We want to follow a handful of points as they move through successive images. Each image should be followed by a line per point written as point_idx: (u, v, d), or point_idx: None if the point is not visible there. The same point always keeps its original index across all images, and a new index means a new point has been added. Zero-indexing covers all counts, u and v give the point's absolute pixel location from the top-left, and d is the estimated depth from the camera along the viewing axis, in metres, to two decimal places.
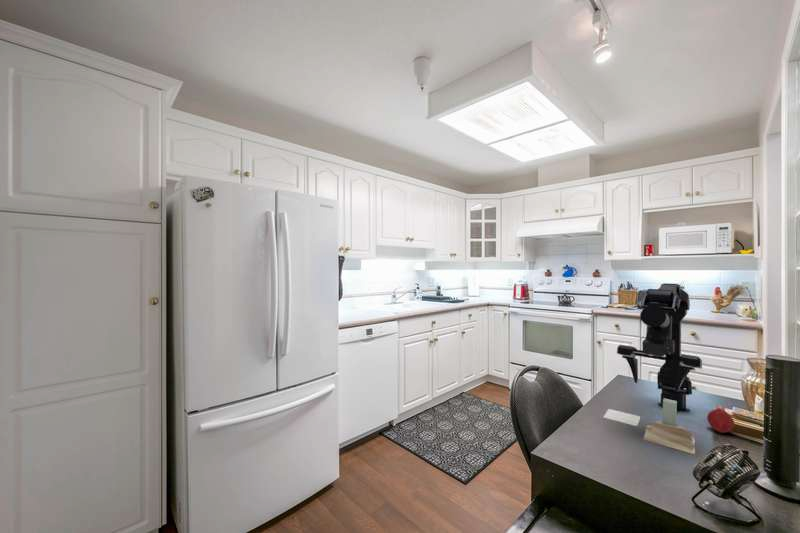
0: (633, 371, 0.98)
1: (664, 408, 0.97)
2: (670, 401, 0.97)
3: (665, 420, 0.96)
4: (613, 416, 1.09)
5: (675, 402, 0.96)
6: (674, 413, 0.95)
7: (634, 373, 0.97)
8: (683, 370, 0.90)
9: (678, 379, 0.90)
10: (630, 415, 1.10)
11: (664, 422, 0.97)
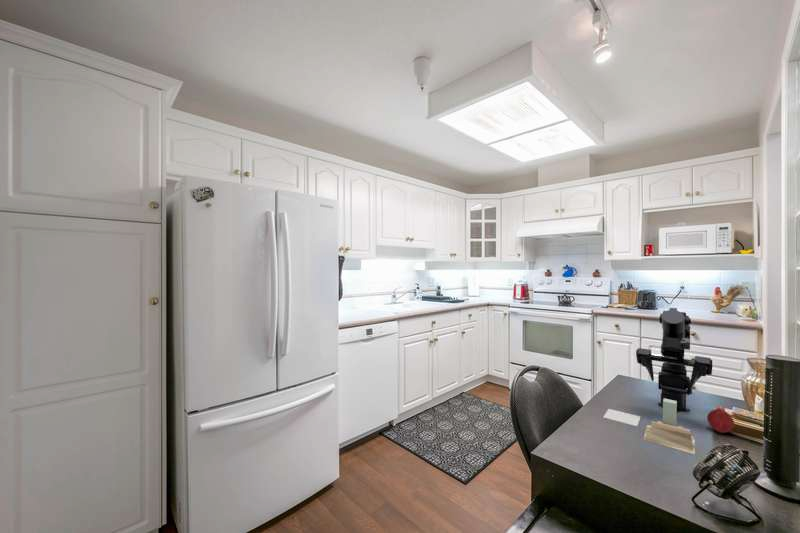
0: (650, 370, 1.07)
1: (664, 408, 0.97)
2: (670, 401, 0.97)
3: (665, 420, 0.96)
4: (613, 416, 1.09)
5: (675, 402, 0.96)
6: (674, 413, 0.95)
7: (651, 371, 1.07)
8: (697, 368, 1.01)
9: (692, 376, 1.01)
10: (630, 415, 1.10)
11: (664, 422, 0.97)
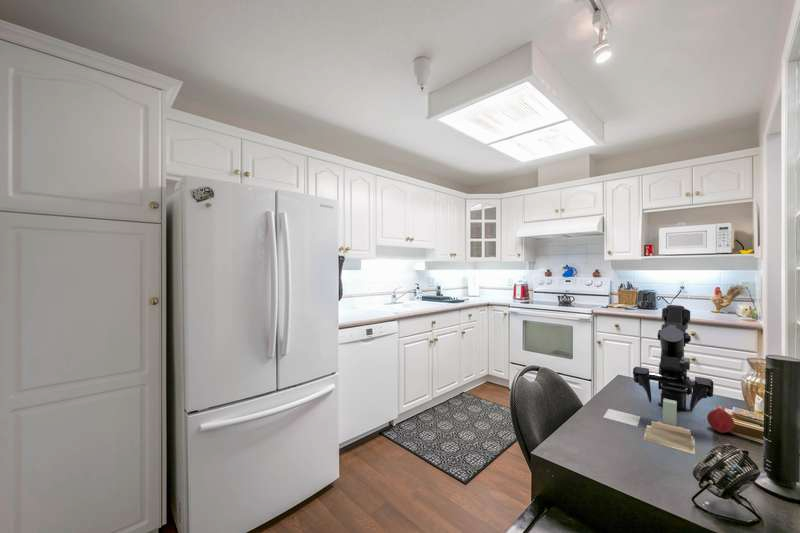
0: (648, 390, 1.02)
1: (664, 408, 0.97)
2: (670, 401, 0.97)
3: (665, 420, 0.96)
4: (613, 416, 1.09)
5: (675, 402, 0.96)
6: (674, 413, 0.95)
7: (649, 392, 1.01)
8: (697, 390, 0.95)
9: (692, 398, 0.95)
10: (630, 415, 1.10)
11: (664, 422, 0.97)
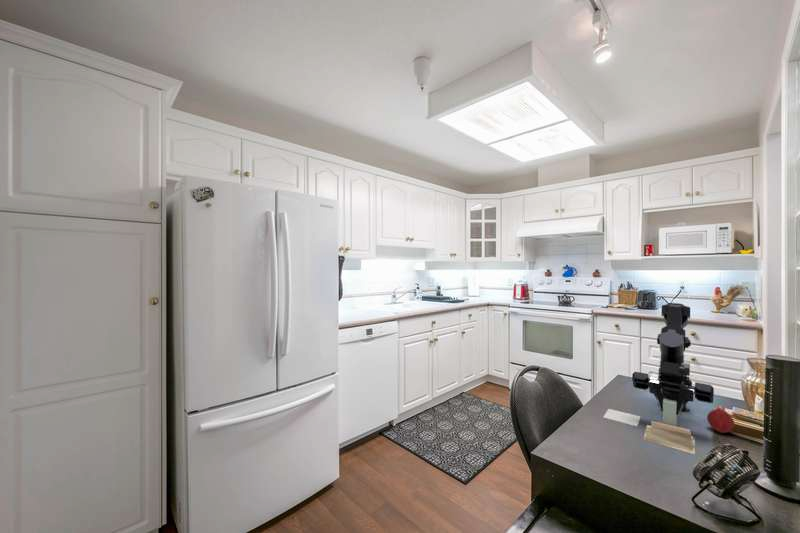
0: (660, 398, 0.98)
1: (664, 408, 0.97)
2: (670, 401, 0.97)
3: (665, 420, 0.96)
4: (613, 416, 1.09)
5: (675, 402, 0.96)
6: (674, 413, 0.95)
7: (661, 400, 0.98)
8: (684, 393, 0.96)
9: (679, 402, 0.96)
10: (630, 415, 1.10)
11: (664, 422, 0.97)
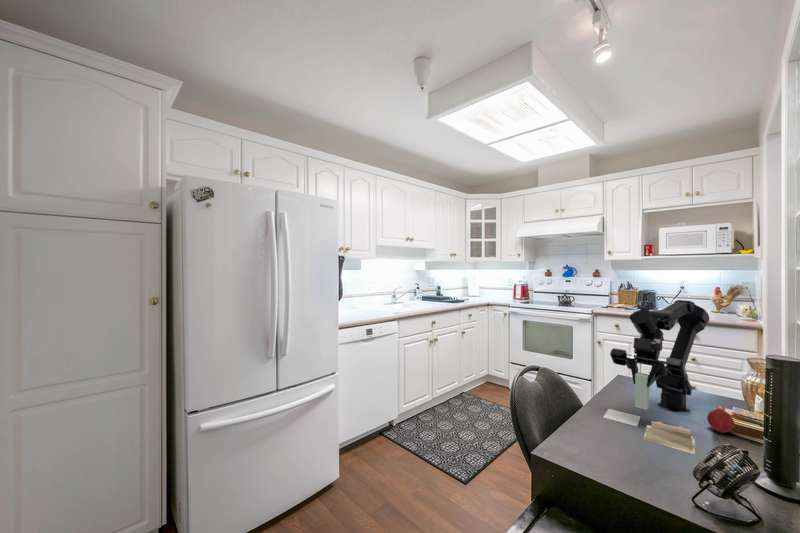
0: (633, 372, 1.05)
1: (636, 381, 1.03)
2: (642, 374, 1.03)
3: (637, 392, 1.02)
4: (613, 416, 1.09)
5: (647, 375, 1.02)
6: (645, 385, 1.01)
7: (634, 374, 1.04)
8: (655, 367, 1.01)
9: (650, 375, 1.01)
10: (630, 415, 1.10)
11: (636, 394, 1.03)
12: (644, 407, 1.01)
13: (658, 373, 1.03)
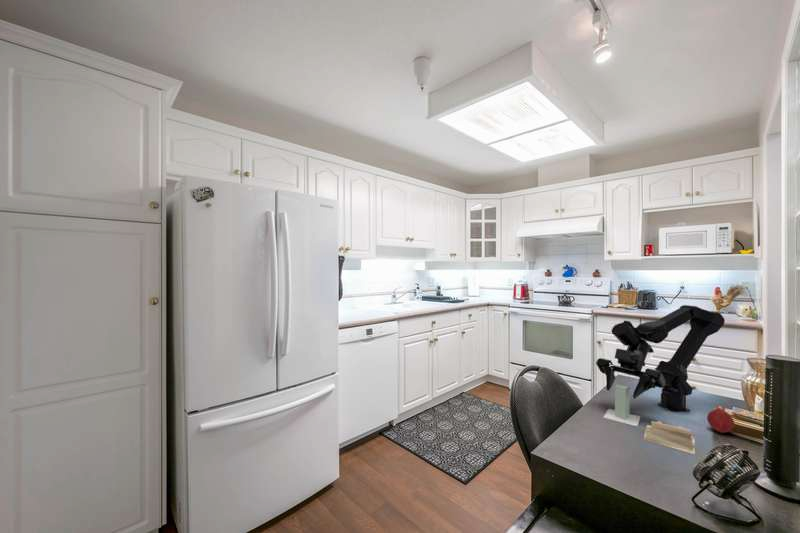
0: (607, 379, 1.12)
1: (616, 392, 1.09)
2: (622, 386, 1.09)
3: (617, 402, 1.09)
4: (613, 416, 1.09)
5: (626, 387, 1.08)
6: (624, 396, 1.07)
7: (608, 381, 1.12)
8: (642, 379, 1.05)
9: (637, 386, 1.05)
10: (630, 415, 1.10)
11: (616, 404, 1.09)
12: (623, 417, 1.07)
13: (647, 385, 1.06)
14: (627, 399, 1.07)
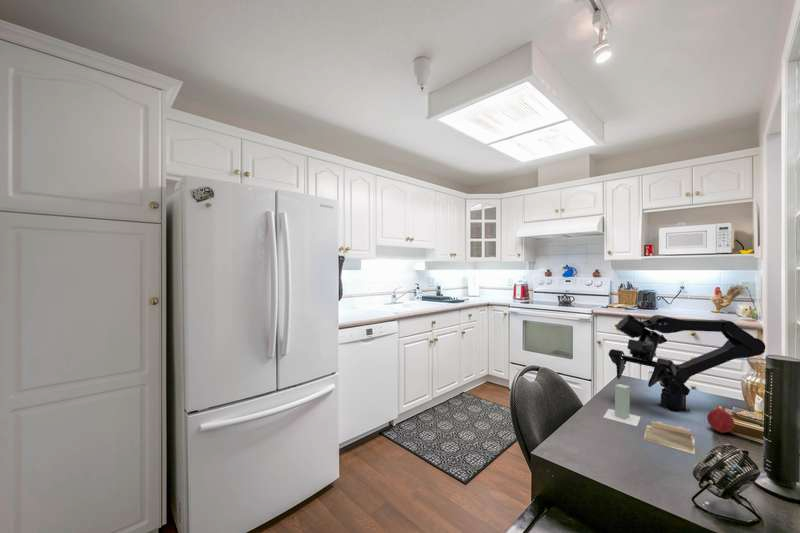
0: (618, 368, 1.18)
1: (616, 392, 1.09)
2: (622, 386, 1.09)
3: (617, 402, 1.09)
4: (613, 416, 1.09)
5: (626, 387, 1.08)
6: (624, 396, 1.07)
7: (618, 370, 1.18)
8: (657, 369, 1.09)
9: (652, 376, 1.10)
10: (630, 415, 1.10)
11: (616, 404, 1.09)
12: (623, 417, 1.07)
13: (661, 375, 1.11)
14: (627, 399, 1.07)
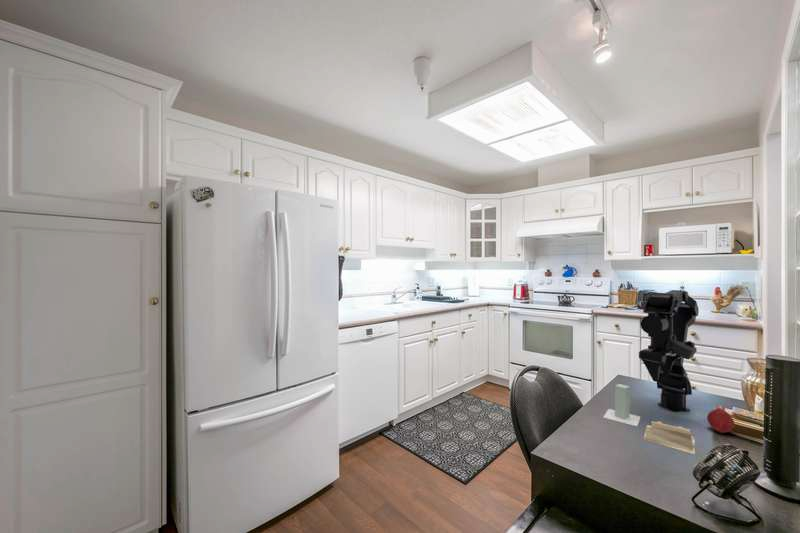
0: (658, 372, 1.05)
1: (616, 392, 1.09)
2: (622, 386, 1.09)
3: (617, 402, 1.09)
4: (613, 416, 1.09)
5: (626, 387, 1.08)
6: (624, 396, 1.07)
7: (658, 374, 1.06)
8: (675, 360, 1.11)
9: (671, 367, 1.11)
10: (630, 415, 1.10)
11: (616, 404, 1.09)
12: (623, 417, 1.07)
13: None
14: (627, 399, 1.07)
